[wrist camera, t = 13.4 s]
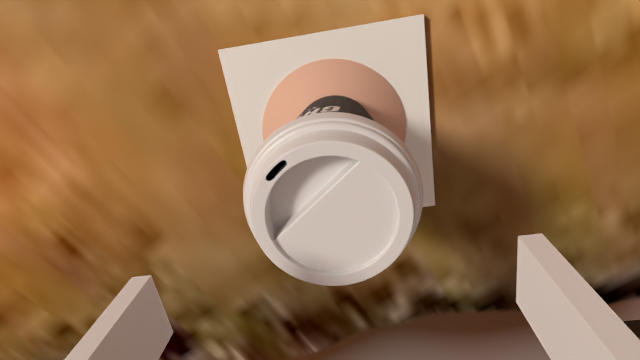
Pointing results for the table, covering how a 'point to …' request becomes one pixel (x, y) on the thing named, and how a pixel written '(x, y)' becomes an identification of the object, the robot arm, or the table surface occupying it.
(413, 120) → the coaster mat
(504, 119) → the table surface
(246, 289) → the table surface
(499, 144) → the table surface
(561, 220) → the table surface
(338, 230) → the coffee cup
